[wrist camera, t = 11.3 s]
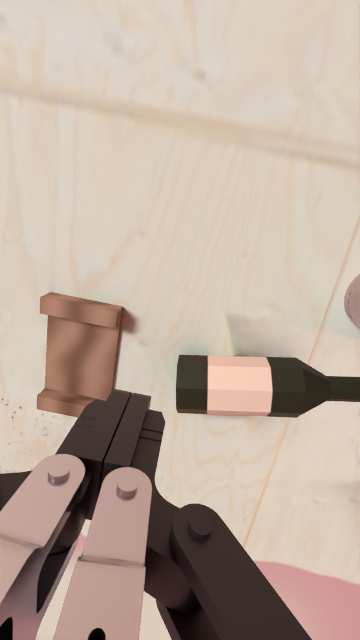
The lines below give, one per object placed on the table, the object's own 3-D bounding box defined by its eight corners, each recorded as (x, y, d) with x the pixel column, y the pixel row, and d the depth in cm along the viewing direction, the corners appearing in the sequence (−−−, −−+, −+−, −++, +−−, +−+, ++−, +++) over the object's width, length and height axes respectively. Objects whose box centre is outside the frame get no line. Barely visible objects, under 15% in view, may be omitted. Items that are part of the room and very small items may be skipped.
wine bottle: (180, 406, 48) (378, 414, 46) (175, 420, 40) (417, 430, 38) (181, 353, 49) (377, 358, 47) (176, 356, 41) (414, 362, 38)
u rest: (122, 306, 46) (117, 312, 43) (109, 411, 52) (103, 422, 49) (50, 292, 46) (40, 297, 43) (46, 398, 52) (36, 408, 49)
